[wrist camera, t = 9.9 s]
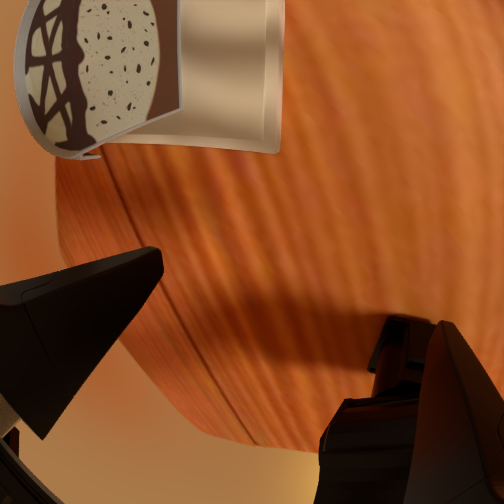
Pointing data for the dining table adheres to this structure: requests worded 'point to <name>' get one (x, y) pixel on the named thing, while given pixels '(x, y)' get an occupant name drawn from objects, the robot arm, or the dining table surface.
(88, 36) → the food container
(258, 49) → the serving board
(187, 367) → the dining table surface
